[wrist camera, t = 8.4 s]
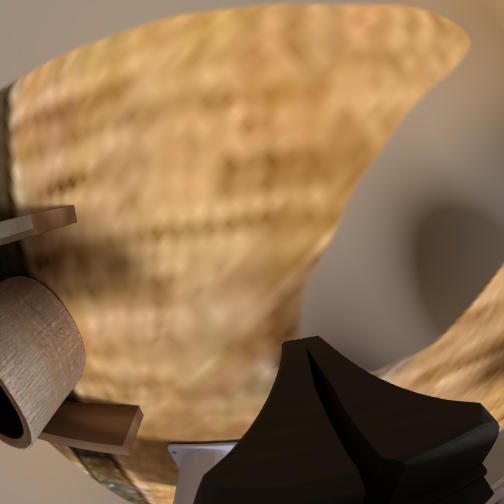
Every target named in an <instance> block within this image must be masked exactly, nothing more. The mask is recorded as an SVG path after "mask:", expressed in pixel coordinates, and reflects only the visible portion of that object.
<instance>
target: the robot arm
mask: <svg viewBox="0 0 504 504" xmlns="http://www.w3.org/2000/svg"><path fill="white" fill-rule="evenodd" d="M499 427H500V426H499V424H498V422H497V421H496V420H495V419H494V418H493V416H492V415H491V414H490V413H489V412H488V411H487V410H486V409H485V407H484V406H483V405H482V404H480V403H475V402H463V401H453V400H446V399H441V398H436V397H431V396H427V395H423V394H419V393H416V392H413V391H410V390H407V389H404V388H401V387H398V386H396V385H393V384H391V383H389V382H387V381H384V380H382V379H380V378H378V377H376V376H374V375H372V374H370V373H369V372H367V371H365V370H364V369H362V368H360V367H359V366H357V365H356V364H354V363H353V362H351V361H350V360H349V359H347V358H346V357H344V356H343V355H342V354H340V353H339V352H338V351H337V350H335V349H334V348H333V347H332V346H330V345H329V344H328V343H327V342H326V341H324V340H323V339H322V338H321V337H319V336H314V337H308V338H303V339H297V340H291V341H285V342H284V343H283V344H282V356H281V362H280V366H279V369H278V373H277V376H276V379H275V382H274V384H273V387H272V389H271V392H270V394H269V396H268V398H267V400H266V402H265V404H264V406H263V408H262V410H261V411H260V413H259V415H258V416H257V418H256V419H255V421H254V422H253V424H252V425H251V427H250V428H249V429H248V431H247V432H246V433H245V435H244V436H243V437H242V438H241V439H240V440H239V441H238V442H229V443H211V444H169V445H168V450H169V452H170V454H171V456H172V458H173V459H174V461H175V463H176V464H177V466H178V468H179V469H180V470H179V475H178V480H177V486H176V491H175V497H174V502H173V504H504V478H502V479H501V480H499V481H498V482H496V483H495V484H494V485H492V486H491V487H490V485H489V484H488V482H487V481H486V479H485V478H484V476H485V475H486V473H487V470H486V468H485V467H484V465H483V464H482V463H483V461H484V459H485V458H486V456H487V455H488V453H489V451H490V450H491V448H492V446H493V445H494V443H495V441H496V439H497V437H498V433H499Z"/></svg>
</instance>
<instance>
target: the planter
mask: <svg viewBox="0 0 504 504" xmlns="http://www.w3.org/2000/svg"><path fill="white" fill-rule="evenodd" d="M84 367H85V350H84V345H83V341H82V338H81V335H80V333H79V330H78V328H77V326H76V324H75V322H74V320H73V318H72V317H71V315H70V313H69V312H68V310H67V309H66V308H65V306H64V305H63V304H62V302H61V301H60V300H59V299H58V298H57V297H56V296H55V294H53V293H52V292H51V291H50V290H49V289H48V288H47V287H45V286H44V285H43V284H41V283H40V282H38V281H36V280H34V279H32V278H29V277H25V276H14V277H11V278H7V279H5V280H3V281H2V282H0V440H1V441H2V442H4V443H6V444H8V445H10V446H12V447H15V448H19V449H28V448H30V447H31V446H32V445H33V443H34V442H35V441H36V439H37V438H38V436H39V435H40V433H41V432H42V430H43V429H44V427H45V426H46V424H47V423H48V422H49V420H50V419H51V417H52V416H53V415H54V413H55V412H56V410H57V409H58V408H59V406H60V405H61V404H62V402H63V401H64V400H65V398H66V397H67V396H68V394H69V393H70V392H71V390H72V389H73V388H74V386H75V385H76V384H77V382H78V381H79V379H80V378H81V375H82V373H83V371H84Z"/></svg>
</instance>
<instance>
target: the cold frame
mask: <svg viewBox="0 0 504 504" xmlns="http://www.w3.org/2000/svg"><path fill="white" fill-rule="evenodd" d="M75 222H77V219H76V214H75V208H74V205H73V206H68V207H63V208H58V209H53V210H48V211H44V212H39V213H35V214H30V215H26V216H22V217H18V218H14V219H10V220H6V221H2V222H0V246H1V245H4V244H7V243H11V242H14V241H17V240H21V239H24V238H28V237H31V236H35V235H38V234H41V233H44V232H47V231H50V230H53V229H56V228H59V227H62V226H66V225H69V224H72V223H75ZM143 416H144V415H143V413H142V411H141V409H140V407H139V406H119V405H102V404H89V403H78V402H69V401H63V402H62V404H61V405H60V406H59V408H58V409H57V410H56V412H55V413H54V415H53V416H52V417H51V419H50V420H49V422H48V423H47V424H46V426H45V427H44V429H43V430H42V432H41V433H40V435H39V436H38V439H42V440H45V441H49V442H53V443H57V444H62V445H66V446H71V447H75V448H80V449H86V450H91V451H97V452H104V453H111V454H119V455H127V456H129V454H130V451H131V448H132V445H133V443H134V440H135V437H136V435H137V432H138V429H139V427H140V424H141V421H142V419H143Z"/></svg>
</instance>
